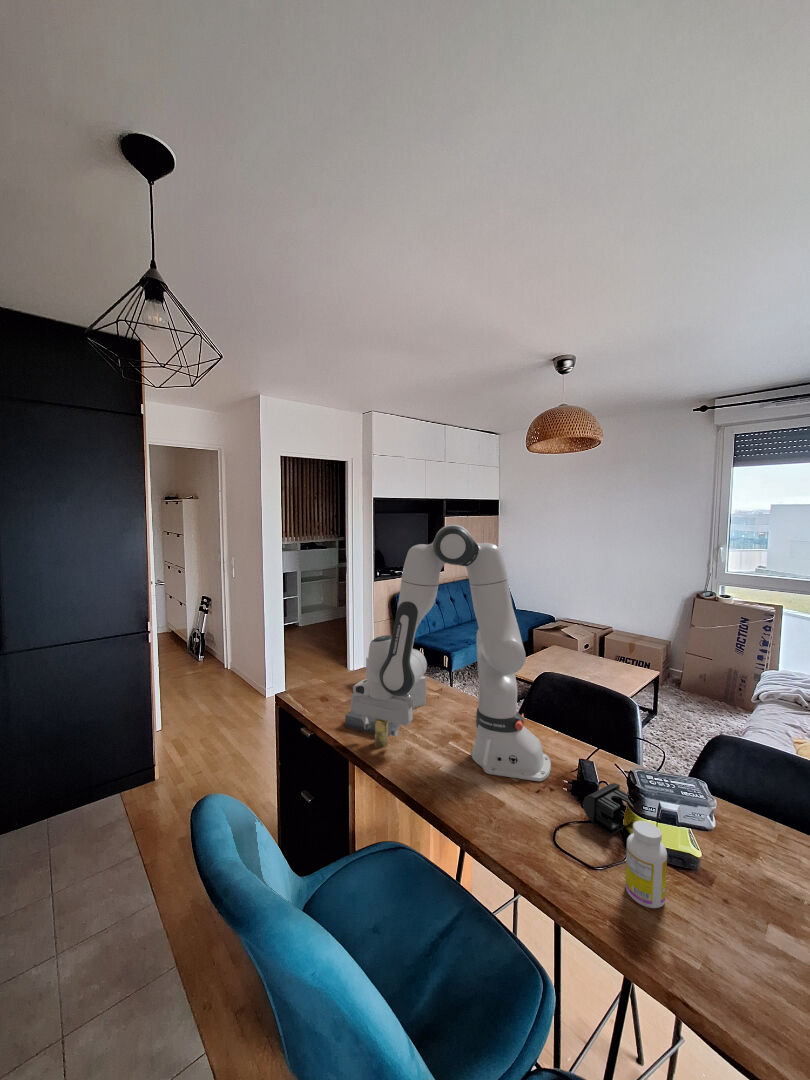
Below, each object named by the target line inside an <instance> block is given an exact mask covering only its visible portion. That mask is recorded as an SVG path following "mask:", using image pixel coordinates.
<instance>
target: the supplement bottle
mask: <svg viewBox="0 0 810 1080" xmlns="http://www.w3.org/2000/svg"><path fill="white" fill-rule="evenodd" d="M662 835H663V833H662V831H661V829H660V828H659V827H658V826H656V825H654V824H653V823H651V822H649V821H645V820H637V821H635V822H633V825H632V833H631V834H629V835H628V836H627V838H626V854H625V855H626V856H625V859H626V862H625V889H626V892H627V894H628V895H629V896H630V898H632V900H634V901H635V902H636V903H638V904H639V905H641V906H643V907H645V908H649V909H659V908H661V907H663V906H664V904H665V903H666V897H667V896H666V895H667V892H666V891H667V869H668V868H667V867H668V865H667V863H668V852H667V848H666V847H665V845H664V844H663V842H662V839H663V838H662Z"/></svg>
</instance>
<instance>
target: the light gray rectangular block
mask: <svg viewBox="0 0 810 1080" xmlns="http://www.w3.org/2000/svg"><path fill="white" fill-rule="evenodd" d="M368 675H369V667H368V656H366V658H365V679H368ZM408 694H409V695H410V696H411V697H412V699H413V705H412V709H415V708H419V706H420V707H423V706H427V677H425V676H424V675H423V676H422V677H421V678H420V679H419V680H418V681H417V682H416V683H415V684H414V685H413V687H412V688H411V690H410V691H409V692H408ZM408 697H409V696H408Z"/></svg>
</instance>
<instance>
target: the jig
mask: <svg viewBox="0 0 810 1080" xmlns="http://www.w3.org/2000/svg"><path fill="white" fill-rule="evenodd" d="M344 716H345V717H344V718H345V719H344V721H345V722H344V723H345V724H344V726H345V728H349V729H352V730H357V731H361V732H365V733H369V734H373V735H375V718H372V717H368V716H367V719H368V721H369V722H371V728H370V729H369V730H367V729H364V723H363V721H362V719H361V715H359V714H355V713H353V712H352V711H351V710H350V711H349V712H348V713H346V714H345V715H344ZM393 728H396V726H395V723H393V722H389V721H388V738H389V737H390V736H392V735H391V734H392V733H391V730H392V729H393Z"/></svg>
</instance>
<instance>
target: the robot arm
mask: <svg viewBox="0 0 810 1080" xmlns="http://www.w3.org/2000/svg"><path fill="white" fill-rule="evenodd" d="M470 533H471V532H469V530H467V529H466V528H465V527H464V526H462V525H459V524H447V525H444V526H442V527H441V528H440V529H439V530H438V531H437V533H436V535H435V537H434V539H433V540H432V542H430V543H429V544H424V543H422V544H421V543H419V544H415V545H413V546H411V547H410V548H409V549H408V551H407V553H406V554H407V555H406V557H405V560H404V565H403V569H402V574H401V579H400V580H401V581H400V588H399V590H400V591H399V597H398V601H397V602H398V603H397V609H396V613H395V618H394V623H393V628H392V633H391V635H381V636H378V637H375V638H374V639H372V640H371V641H370V643H369V647H368V655H367V657H368V667H369V675H368V679H366V678H364V679H362V680H360V681H358V682H357V683H355V684H354V685H353V686H352V691H353V693H352V694H351V697H350V711H352V712H353V713H355V714H359V715H361V719H362V721H363V723H364V729H367V730H369V729H370V728H371V722H369V721H368V719H367V716H368V717H372V718H376V719H381V720H385V721H389V722H393V723H395V726H396V728H393V729H392V730H391V733H392V734H391V735H390V736H393V737H397V736H398V735H399V729H400V727H401V725H402V726H409V725H410V723H412V721H413V719H414V714H413V713H414V712H413V708H412V705H413V699H412V697H411V696H410V695H409V694H408V692H409V691H410V690H411V688H412V687H413V685H414V684H415V683H416V682H417V681H418V680H419V679H420V678H421V677H422V676H424V675H425V674H426V672H427V669H428V662H427V658H426V656H425V655H424V653H422V651H420V650H419V649H417V648H413V646H414V642H415V637H416V632H417V629H418V627H419V625H420V624H421V622H422V620H423V619H424V618H425V617H426V615H427V614H428V613H429V612H430V611H431V609H432V608H433V606H434V604H435V601H436V600H437V599H436V598H437V595H438V589H439V583H440V575H441V570H442V569H443V567H444V566H445V565H446V564H448V565H453V566H461V567H465V568H466V572H467V576H468V581H469V588H470V594H471V600H472V606H473V611H474V615H475V619H476V622H477V627H478V629H477V632H476V658H477V659H476V661H477V673H478V674H477V675H478V703H477V704H478V705H477V708H476V713H475V716H476V717H475V724H476V734H475V739H474V740H475V741H474V744H473V748H472V751H471V754H470V755H471V758H472V760H473V761H474V762H475V763H476V764H477V765H478V766H480V767H481V769H482V770H483V771H484V773H486V774H488V775H493V776H499V777H508V778H514V779H519V780H527V781H535V782H542V781H544V780H546V779H547V778H548V777H549V775H550V772H551V770H552V762H551V759H550V757H549V756H548V755H547V754H546V753H544V752H543V747H542V743H541V740H540V739H539V738H538V737H537V736H536V735H534V734H533V733H532V732H531V731H530V730H529V729H528V728H526V727H525V726H524V725H525V724H524V720H525V719H524V713H522V714H520V713H519V711H517V709H518V708H517V707H518V683H517V678H516V673H517V672H519V671H520V670H521V669H522V668H523V667H524V665H525V663H526V651H525V647H524V642H523V639H522V636H521V632H520V628H519V624H518V621H517V617H516V614H515V611H514V607H513V600H512V595H511V591H510V590H511V589H510V584H509V578H508V572H507V568H506V565H505V560H504V558H503V555H502V552H501V550H500V547H498V546H497V545H496V544H495V543H490V542H481V543H479V542H476V540H475V539H474V538H473V537H472V535H471V534H470ZM408 696H409V697H408Z"/></svg>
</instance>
